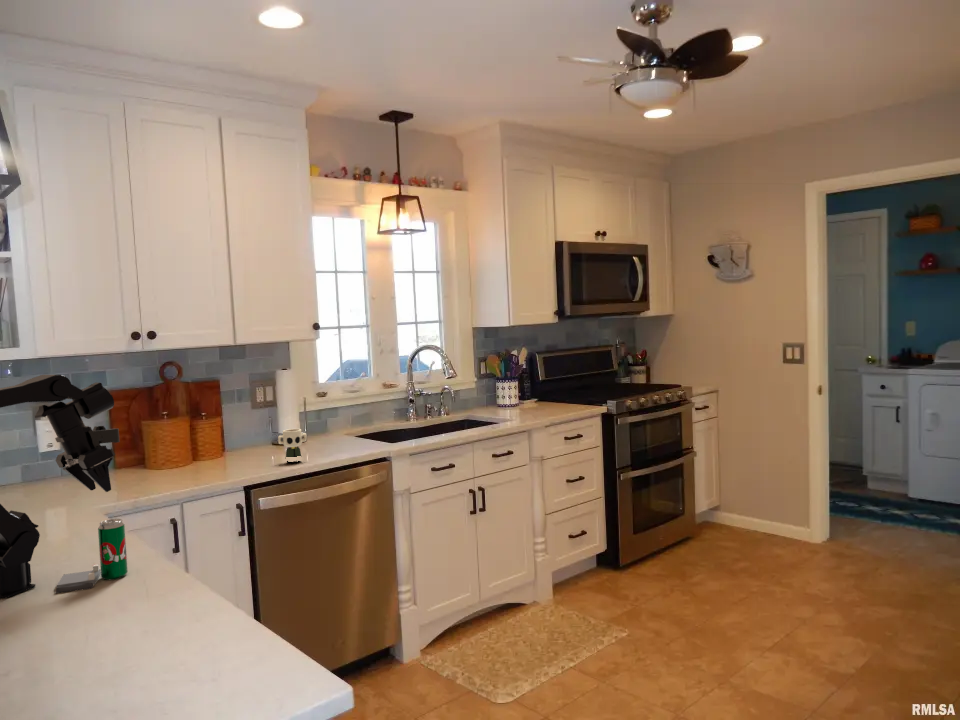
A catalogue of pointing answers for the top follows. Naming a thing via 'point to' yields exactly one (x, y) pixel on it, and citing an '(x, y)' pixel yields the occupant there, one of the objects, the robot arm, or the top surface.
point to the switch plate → (80, 577)
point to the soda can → (112, 549)
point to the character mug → (292, 441)
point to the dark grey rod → (74, 587)
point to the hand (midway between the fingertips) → (101, 490)
